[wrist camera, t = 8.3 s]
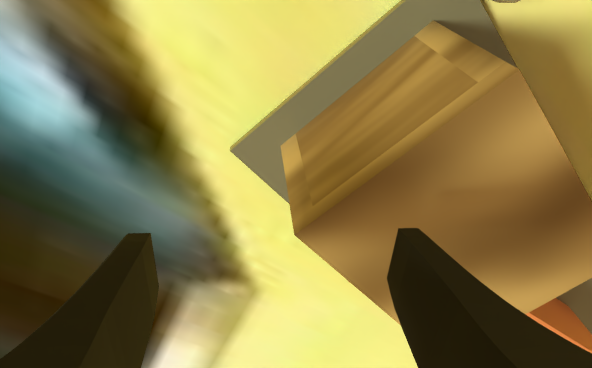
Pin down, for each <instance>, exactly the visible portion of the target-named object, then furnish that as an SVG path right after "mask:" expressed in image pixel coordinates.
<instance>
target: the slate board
mask: <svg viewBox="0 0 592 368" xmlns="http://www.w3.org/2000/svg"><path fill="white" fill-rule="evenodd" d="M433 20H434V21H435V22H437V23H439V24H441V25H442V26H444V27H446V28H448V29H449V30H451V31H453V32H455V33H456V34H458V35H460V36H462V37H463V38H465V39H467V40H469V41H470V42H472V43H474V44H476V45H477V46H479V47H481V48H483V49H484V50H486V51H488V52H490V53H491V54H493V55H495V56H497V57H498V58H500V59H502V60H504V61H505V62H507V63H509V64H511V65H512V66H514V67H516V68H517V66H516V65H515V63H514V61H513V59H512V57H511V56H510V54H509V52H508V50H507V48H506V46H505V45H504V43H503V41H502V39H501V37H500V36H499V34H498V32H497V30H496V28H495V27H494V25H493V23H492V21H491V19H490V17H489V16H488V14H487V12H486V10H485V8H484V7H483V5H482V3H481V1H480V0H401V1H400V2H399V3H398V4H396V5H395V6H394V7H393V8H392V9H391V10H389V11H388V12H387V13H386V14H385V15H384V16H382V17H381V18H380V19H379V20H378V21H377V22H375V23H374V24H373V25H372V26H371V27H370V28H368V29H367V30H366V31H365V32H364V33H363V34H361V35H360V36H359V37H358V38H357V39H356V40H354V41H353V42H352V43H351V44H350V45H349V46H348V47H346V48H345V49H344V50H343V51H342V52H341V53H339V54H338V55H337V56H336V57H335V58H334V59H332V60H331V61H330V62H329V63H328V64H327V65H325V66H324V67H323V68H322V69H321V70H320V71H318V72H317V73H316V74H315V75H314V76H313V77H311V78H310V79H309V80H308V81H307V82H306V83H304V84H303V85H302V86H301V87H300V88H299V89H298V90H296V91H295V92H294V93H293V94H292V95H291V96H289V97H288V98H287V99H286V100H285V101H284V102H282V103H281V104H280V105H279V106H278V107H277V108H275V109H274V110H273V111H272V112H271V113H270V114H268V115H267V116H266V117H265V118H264V119H263V120H261V121H260V122H259V123H258V124H257V125H256V126H254V127H253V128H252V129H251V130H250V131H249V132H248V133H246V134H245V135H244V136H243V137H242V138H241V139H239V140H238V141H237V142H236V143H235V144H234V145H232V146H231V147H230V151H231V152H232V153H233V154H234V155H235V156H236V157H238V158H239V159H240V160H241V161H242V162H243V163H244V164H245V165H246V166H248V167H249V168H250V169H251V170H252V171H253V172H254V173H255V174H257V175H258V176H259V177H260V178H261V179H262V180H263V181H264V182H265V183H267V184H268V185H269V186H270V187H271V188H272V189H273V190H274V191H276V192H277V193H278V194H279V195H280V196H281V197H282V198H283V199H284V200H286V201H287V202H288V203H289V197H288V191H287V184H286V178H285V171H284V165H283V159H282V152H281V145H282V144H283V143H285V142H286V141H287V140H288V139H290V138H291V137H292V136H293V135H294V134H296V133H297V132H298V131H299V130H300V129H302V128H303V127H304V126H305V125H307V124H308V123H309V122H310V121H311V120H313V119H314V118H315V117H316V116H317V115H319V114H320V113H321V112H322V111H324V110H325V109H326V108H327V107H328V106H330V105H331V104H332V103H333V102H334V101H336V100H337V99H338V98H339V97H341V96H342V95H343V94H344V93H345V92H347V91H348V90H349V89H350V88H352V87H353V86H354V85H355V84H356V83H358V82H359V81H360V80H361V79H362V78H364V77H365V76H366V75H367V74H369V73H370V72H371V71H372V70H373V69H375V68H376V67H377V66H378V65H379V64H381V63H382V62H383V61H384V60H386V59H387V58H388V57H389V56H390V55H392V54H393V53H394V52H395V51H396V50H398V49H399V48H400V47H401V46H403V45H404V44H405V43H406V42H407V41H409V40H410V39H411V38H412V37H413V36H415V35H416V34H417V33H418V32H420V31H421V30H422V29H423V28H424V27H426V26H427V25H428V24H429V23H430V22H432V21H433ZM289 204H290V203H289ZM556 298H557V299H558V300H560V301H561V302H563V303H564V304H566V305H567V306H569V307H570V309H571V310H572V311H573V312H574V314H575V315H576V316H577V317H578V318H579V320H580V321H581V322H582V323H583V324H584V326H585V327H586V328H587V329H588V331H589V332H590V333H591V334H592V278H590V279H589V280H587V281H585V282H583V283H581V284H580V285H578V286H576V287H574V288H572V289H570V290H569V291H567V292H565V293H563V294H561V295H560V296H558V297H556Z"/></svg>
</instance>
